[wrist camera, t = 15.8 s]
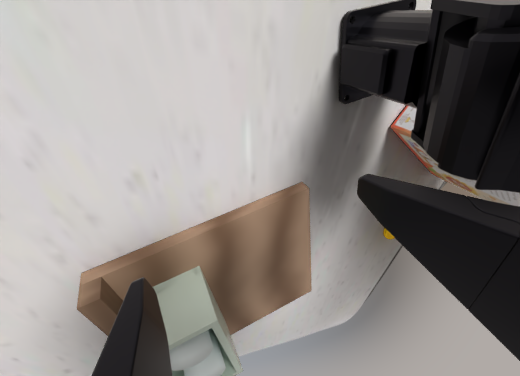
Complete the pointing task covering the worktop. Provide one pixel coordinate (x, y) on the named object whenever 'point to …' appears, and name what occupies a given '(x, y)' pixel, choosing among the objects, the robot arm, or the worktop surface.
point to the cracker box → (403, 130)
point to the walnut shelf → (219, 262)
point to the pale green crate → (196, 328)
